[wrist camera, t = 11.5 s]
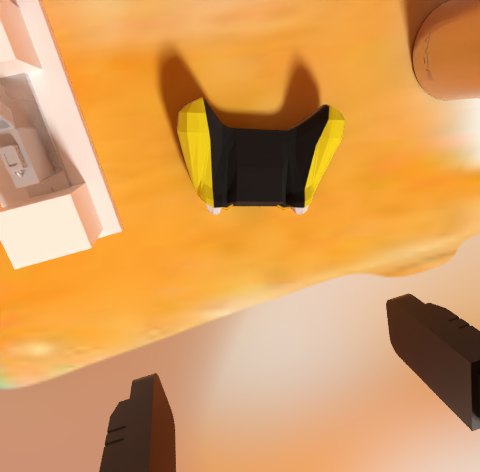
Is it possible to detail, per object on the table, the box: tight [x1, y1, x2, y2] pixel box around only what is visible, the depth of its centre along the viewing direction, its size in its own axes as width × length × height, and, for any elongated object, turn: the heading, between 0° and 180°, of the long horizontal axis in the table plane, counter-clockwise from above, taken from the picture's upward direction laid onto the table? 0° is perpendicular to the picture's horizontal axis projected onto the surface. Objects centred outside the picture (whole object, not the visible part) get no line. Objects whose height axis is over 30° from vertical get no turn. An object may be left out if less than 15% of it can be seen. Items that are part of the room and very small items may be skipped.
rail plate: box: [0, 0, 123, 238], centre depth 32 cm, size 9×20×1 cm, turn 13°
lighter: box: [0, 101, 55, 188], centre depth 27 cm, size 7×2×8 cm, turn 14°
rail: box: [0, 73, 72, 198], centre depth 31 cm, size 4×19×1 cm, turn 14°
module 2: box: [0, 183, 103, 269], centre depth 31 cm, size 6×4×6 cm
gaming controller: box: [177, 97, 345, 214], centre depth 34 cm, size 15×6×10 cm
